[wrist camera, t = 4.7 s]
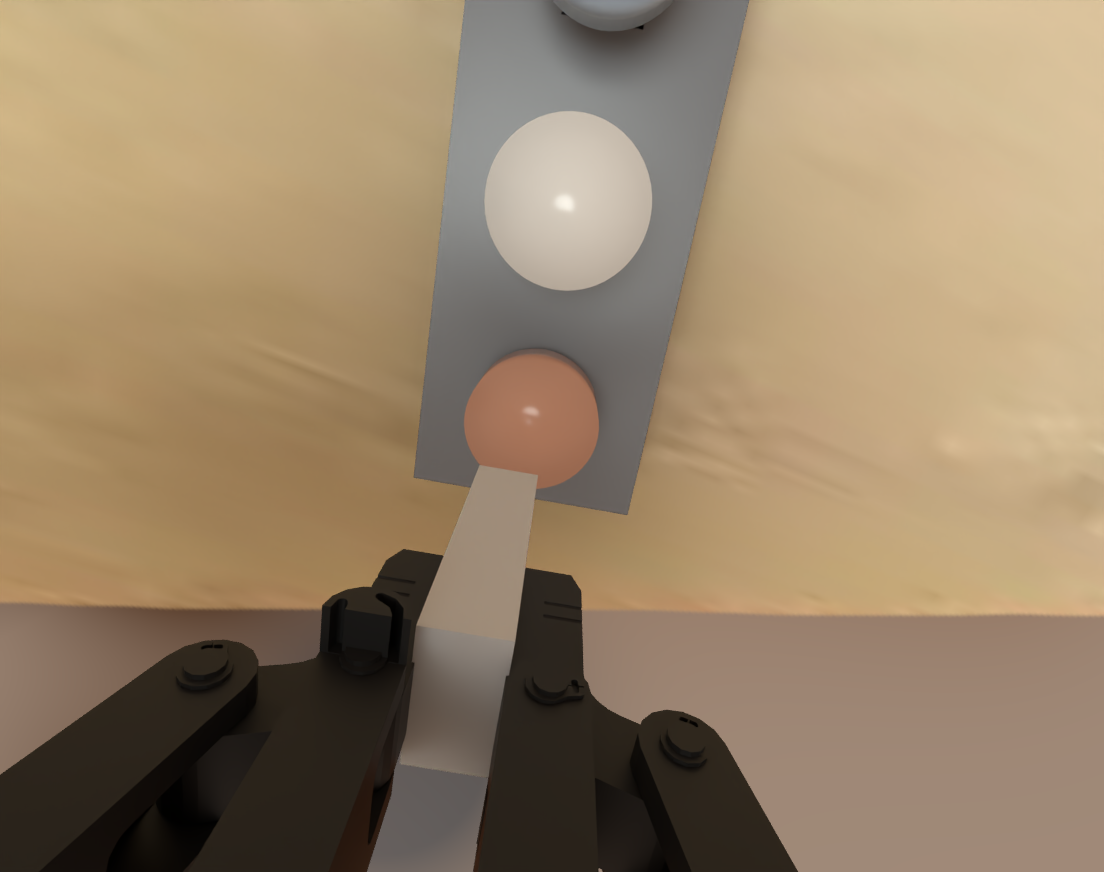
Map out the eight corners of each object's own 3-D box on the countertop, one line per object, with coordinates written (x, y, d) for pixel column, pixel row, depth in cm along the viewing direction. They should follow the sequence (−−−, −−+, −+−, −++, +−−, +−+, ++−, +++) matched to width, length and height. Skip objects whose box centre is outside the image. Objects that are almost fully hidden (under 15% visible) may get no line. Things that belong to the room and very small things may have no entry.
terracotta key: (483, 421, 31) (456, 476, 24) (498, 321, 29) (473, 348, 22) (583, 439, 31) (584, 499, 24) (603, 340, 29) (611, 373, 22)
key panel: (441, 436, 33) (413, 477, 28) (508, -116, 25) (488, -218, 20) (618, 467, 34) (627, 515, 28) (740, -72, 26) (786, -159, 20)
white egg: (501, 264, 26) (473, 275, 19) (519, 135, 25) (496, 96, 18) (617, 285, 27) (632, 303, 20) (643, 158, 25) (669, 128, 18)
